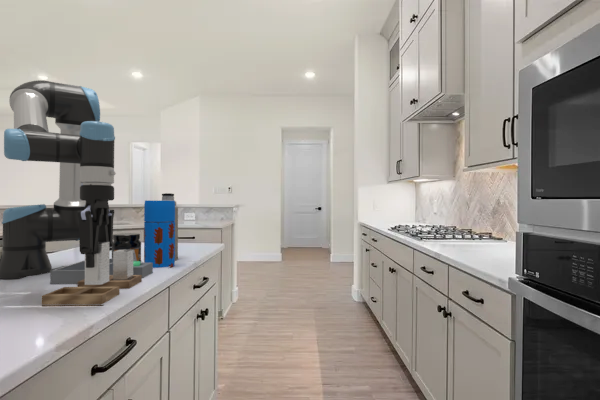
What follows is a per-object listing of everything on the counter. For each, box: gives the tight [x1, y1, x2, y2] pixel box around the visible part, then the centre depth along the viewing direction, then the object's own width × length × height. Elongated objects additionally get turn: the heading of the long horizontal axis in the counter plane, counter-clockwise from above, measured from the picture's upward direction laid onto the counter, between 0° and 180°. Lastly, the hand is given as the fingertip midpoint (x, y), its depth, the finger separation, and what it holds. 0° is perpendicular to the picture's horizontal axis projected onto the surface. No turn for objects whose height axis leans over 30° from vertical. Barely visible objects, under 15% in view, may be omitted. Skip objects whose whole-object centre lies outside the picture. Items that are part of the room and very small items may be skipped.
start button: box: [133, 261, 140, 266], centre depth 120 cm, size 4×4×3 cm
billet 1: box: [84, 241, 110, 285], centre depth 92 cm, size 4×4×10 cm
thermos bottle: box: [160, 192, 179, 261], centre depth 155 cm, size 8×8×28 cm
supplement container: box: [111, 232, 142, 263], centre depth 142 cm, size 10×10×12 cm
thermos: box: [143, 200, 176, 269], centre depth 139 cm, size 11×11×25 cm
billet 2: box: [113, 249, 133, 280], centre depth 107 cm, size 4×4×10 cm
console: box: [133, 262, 154, 279], centre depth 120 cm, size 9×9×4 cm
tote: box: [49, 258, 113, 285], centre depth 118 cm, size 12×22×4 cm, turn 2°
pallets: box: [41, 275, 143, 307], centre depth 99 cm, size 14×24×2 cm, turn 2°
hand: (97, 278), depth 92 cm, fingers closed on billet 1, 4 cm apart
